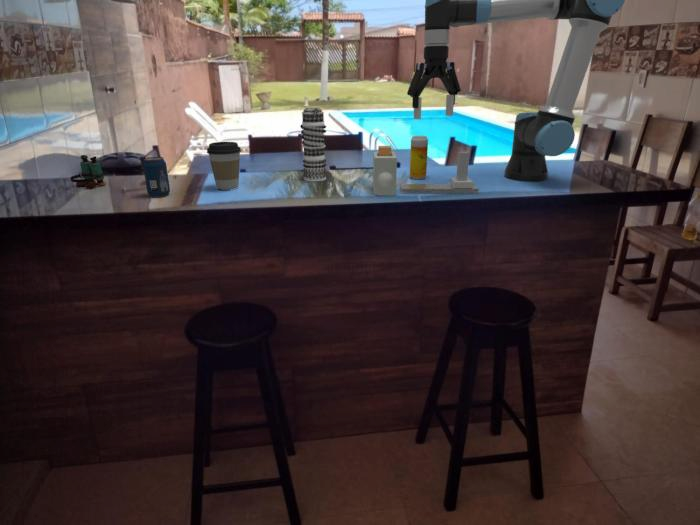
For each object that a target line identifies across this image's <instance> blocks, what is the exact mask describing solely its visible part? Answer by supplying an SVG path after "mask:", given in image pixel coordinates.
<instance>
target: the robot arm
mask: <svg viewBox="0 0 700 525" xmlns="http://www.w3.org/2000/svg"><path fill="white" fill-rule="evenodd" d="M625 1H626V0H425V4H424V11H425V12H424V36H423V38H424V40H423V44H424V45H425V46H424V48H423V59H424V62H417V63H416V64H415V71H414V73H413V76H412V79H411V81H410V83H409V84H410V85H409V87H408V89H407V92H406V94H407V96H410V97H411V98H412V104H411V105H412V108H413V119H414V120H421V119H422V97H421V94H422V93H423V92H424V89H425V88H426V86H427V85H428V83H429V81H430V80H432V79H436V78H437V79H440V81H441V83H442V84H443V86H444V88H445V89H446V91H447V93H448V94H446V101H445V116H448V117H454V106H455V104H456V96H457V95H458V94H459V93H460V92H461V87H460V83H459V80H458V76H457V72H456V69H455V65H456V64H455V61H447V59H448V58H449V50H450V49H449V48H450V47H449V46H448V45H449V43H450V28H451V27H452V28H458V27H461V26H462V27H464V26H473V25H482V24H492V23H499V22H500V23H501V22H510V21H511V22H512V21H521V20H529V19H539V18H540V19H541V18H547V19H548V20H549V21H553V20H568V22H569V24H570V26H571V28H570V31H569V35H568V37H567V40H566V43H565V46H564V50H563V52H562V54H561V59H560V61H559V63H558V66H557V67H558V68H557V70H556V73H555V76H554V80H553V81H552V84H551V87H550V91H549V94H548V96H547V99H546V103H545V105H544V106H542V107H541V108H539V109H538V111H535V112H534V111H532V112H531V111H530V112H520V113H518V114H517V115H516V117H515V121H514V128H513V129H514V130H513V139H512V148H511V156H510V158H509V160H508V162H507V165H506V167H505V169H504V177H505V178H507V179H511V180H516V181H524V182H525V181H526V182H538V181H539V182H540V181H545V180H547V179H548V175H549V171H548V166H547V161H546V160H547V159H546V157H557V156H561V155H563V154H564V153H566V152H567V151H568V150H569V149H570V148H571V146H572V145H573V143H574V140H575V137H576V133H575V130H574V127H573V125H574V122H575V119H576V117H575V115H574V113H573V111H574V108H575V105H576V102H577V99H578V95H579V94H580V90H581V88H582V85H583V82H584V79H585V76H586V74H587V71H588V68H589V66H590V63H591V60H592V57H593V54H594V51H595V48H596V46H597V43H598V40H599V37H600V35H601V32H603V31H605V30H606V29H608V27H609V25H610V22H611V19H612V16H613V15H615V14H616V13H618V12H619V11H621V9H622V7H623V6H624V4H625Z"/></svg>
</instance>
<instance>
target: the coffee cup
mask: <svg viewBox="0 0 700 525" xmlns="http://www.w3.org/2000/svg"><path fill="white" fill-rule="evenodd" d="M241 152H242V149H241V147H240V146H239V145H238V142H235V141H217V142H211V143H209V145H208V148H207V149H206V153H207V154H208V156H209V158H208V159H209V161H210V165H211V170H212V173H213V175H212V176H213V178H214V182H215V187H216V189H217V188H218V189H221V190H220V191H230V190H229V189H234V188H237V187H238V188H239V185H240V159H241V158H240V154H241ZM238 188H237V189H238ZM218 189H217V190H218ZM234 190H235V189H234Z"/></svg>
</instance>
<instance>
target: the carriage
mask: <svg viewBox="0 0 700 525" xmlns="http://www.w3.org/2000/svg"><path fill="white" fill-rule="evenodd" d="M469 161H470V151H466V150H465V151H457V161H456V163H457V164H456V176H455V177H450V183H449V184H451V185H452V186H453V188H473V184H474V182H473V180H472V179H471V178H470V177H468V175H469V163H470V162H469Z"/></svg>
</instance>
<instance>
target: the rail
mask: <svg viewBox="0 0 700 525" xmlns="http://www.w3.org/2000/svg"><path fill="white" fill-rule="evenodd" d="M399 191H400V194H401V193H410V194H479V187H478V186H477V185H475V183H473V188H453V186H452V185H451V184H450V183H399Z"/></svg>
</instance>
